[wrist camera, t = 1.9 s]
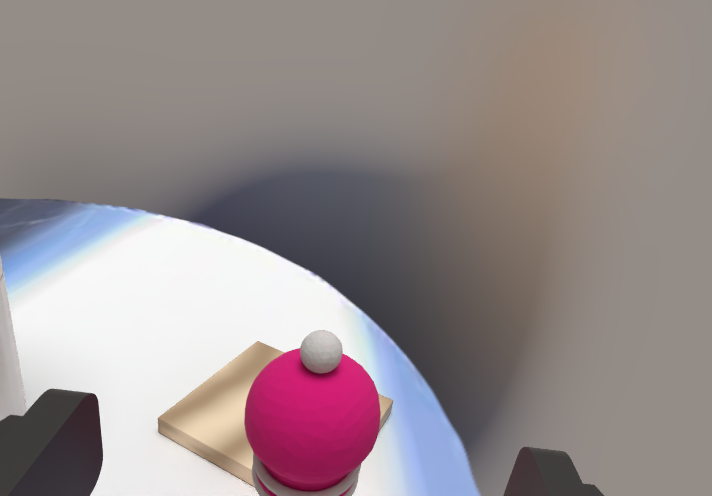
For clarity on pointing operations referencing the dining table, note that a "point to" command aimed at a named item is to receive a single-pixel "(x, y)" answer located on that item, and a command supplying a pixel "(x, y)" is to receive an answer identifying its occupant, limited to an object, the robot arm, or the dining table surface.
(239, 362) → the birch board
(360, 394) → the pepper mill
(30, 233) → the dining table surface
